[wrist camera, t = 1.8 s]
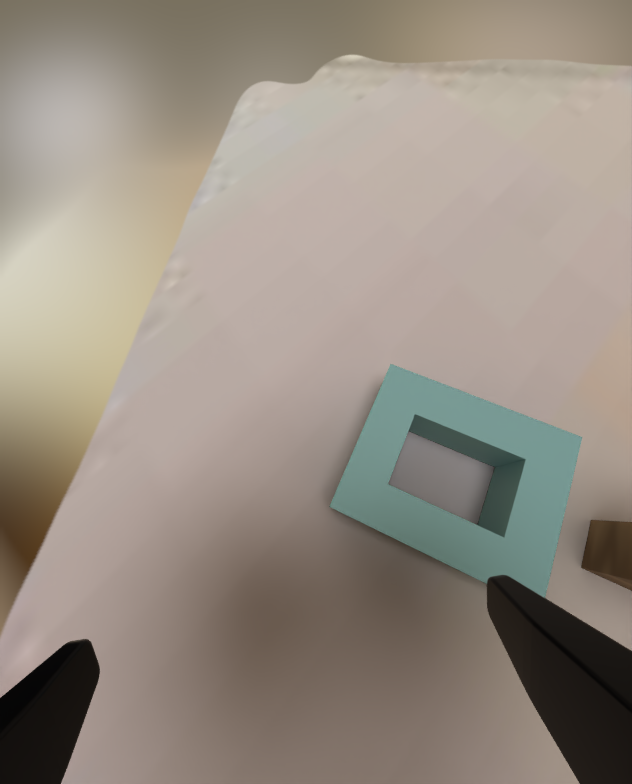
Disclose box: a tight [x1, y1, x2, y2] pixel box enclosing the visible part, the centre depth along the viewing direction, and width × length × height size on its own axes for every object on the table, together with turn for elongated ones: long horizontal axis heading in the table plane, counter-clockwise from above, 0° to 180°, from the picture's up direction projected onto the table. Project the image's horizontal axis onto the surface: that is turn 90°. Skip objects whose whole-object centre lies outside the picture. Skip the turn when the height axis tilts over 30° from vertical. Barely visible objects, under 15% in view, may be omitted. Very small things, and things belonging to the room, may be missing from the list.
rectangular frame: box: [329, 364, 582, 598], centre depth 21 cm, size 10×12×4 cm
